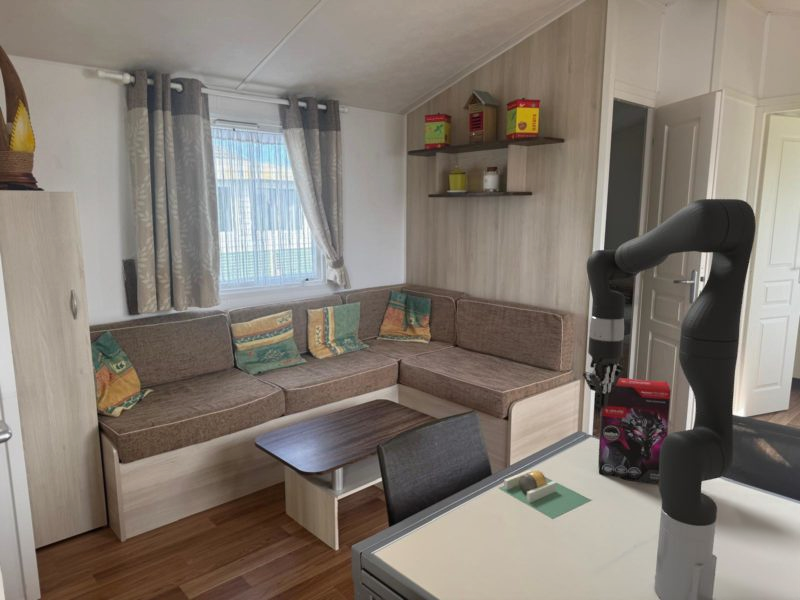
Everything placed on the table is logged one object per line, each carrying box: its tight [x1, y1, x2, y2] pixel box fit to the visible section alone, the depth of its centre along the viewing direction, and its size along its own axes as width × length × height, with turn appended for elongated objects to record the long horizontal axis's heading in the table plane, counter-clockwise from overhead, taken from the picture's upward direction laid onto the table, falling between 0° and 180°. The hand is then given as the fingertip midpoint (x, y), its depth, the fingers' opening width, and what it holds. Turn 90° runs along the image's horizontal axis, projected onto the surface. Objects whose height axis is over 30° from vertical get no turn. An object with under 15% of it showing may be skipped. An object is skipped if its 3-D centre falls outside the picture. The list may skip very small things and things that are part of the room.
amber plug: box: [519, 470, 547, 495], centre depth 146 cm, size 5×5×5 cm
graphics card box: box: [597, 377, 672, 485], centre depth 155 cm, size 17×7×27 cm, turn 73°
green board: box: [498, 476, 592, 520], centre depth 145 cm, size 18×15×1 cm
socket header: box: [503, 469, 557, 503], centre depth 147 cm, size 9×10×2 cm
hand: (601, 406), depth 134 cm, fingers closed
